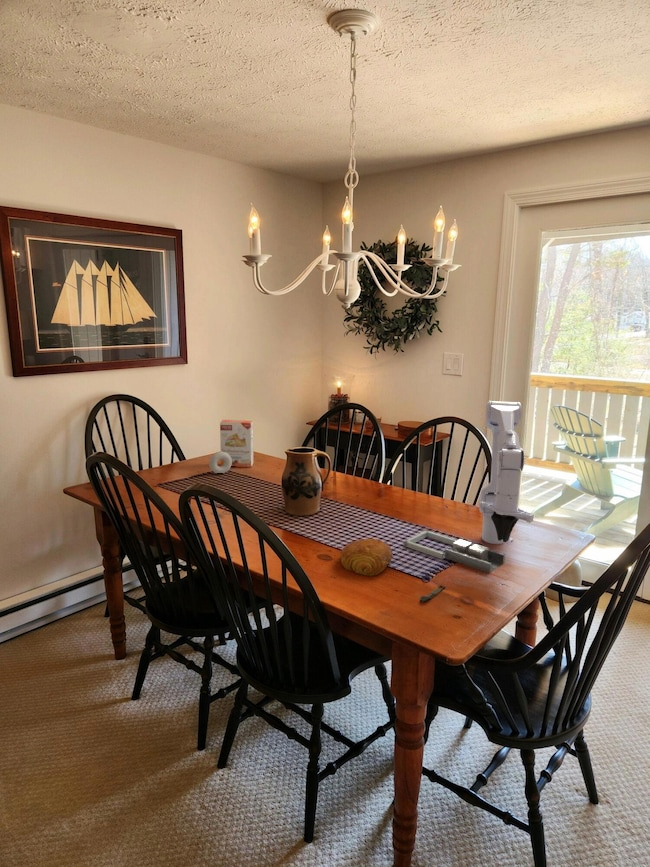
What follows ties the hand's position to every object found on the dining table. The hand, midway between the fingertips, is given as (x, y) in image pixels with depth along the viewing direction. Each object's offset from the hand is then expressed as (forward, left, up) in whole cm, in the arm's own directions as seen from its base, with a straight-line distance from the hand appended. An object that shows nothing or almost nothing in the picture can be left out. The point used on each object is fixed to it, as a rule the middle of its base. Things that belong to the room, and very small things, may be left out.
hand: (503, 540), depth 153 cm
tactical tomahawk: (+19, -8, -10) cm, 23 cm away
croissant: (+22, -30, -10) cm, 38 cm away
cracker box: (-16, -135, -10) cm, 136 cm away
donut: (-3, -130, -10) cm, 130 cm away
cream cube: (0, -7, -8) cm, 11 cm away
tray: (0, -22, -9) cm, 23 cm away
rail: (0, -8, -9) cm, 12 cm away
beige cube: (0, -12, -8) cm, 15 cm away
